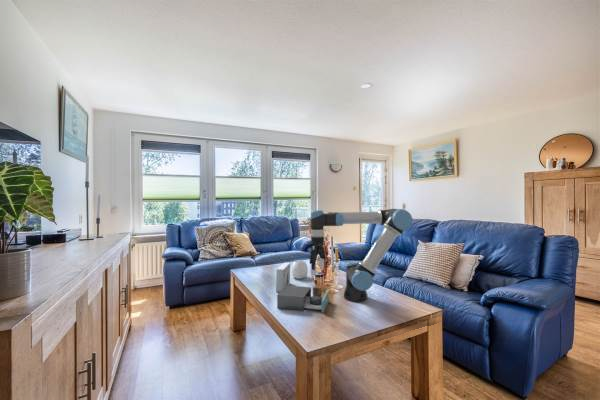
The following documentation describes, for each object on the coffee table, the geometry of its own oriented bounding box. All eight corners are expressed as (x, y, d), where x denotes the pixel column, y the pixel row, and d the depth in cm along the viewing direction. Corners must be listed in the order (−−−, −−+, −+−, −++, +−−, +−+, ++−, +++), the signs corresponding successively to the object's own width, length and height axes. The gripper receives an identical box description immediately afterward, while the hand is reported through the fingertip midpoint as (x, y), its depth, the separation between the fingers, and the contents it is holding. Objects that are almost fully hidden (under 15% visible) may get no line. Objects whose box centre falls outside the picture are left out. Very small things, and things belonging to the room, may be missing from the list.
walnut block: (321, 296, 174) (321, 285, 174) (319, 299, 170) (319, 288, 170) (314, 296, 175) (314, 285, 175) (313, 298, 171) (313, 287, 171)
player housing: (310, 299, 168) (310, 287, 168) (303, 311, 151) (303, 297, 151) (287, 297, 173) (286, 285, 173) (277, 308, 155) (277, 294, 155)
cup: (291, 275, 223) (291, 259, 223) (306, 275, 224) (306, 259, 224) (292, 280, 210) (292, 263, 210) (309, 279, 211) (308, 262, 211)
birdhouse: (328, 301, 165) (328, 290, 165) (323, 312, 148) (323, 300, 148) (304, 299, 169) (304, 288, 169) (297, 310, 152) (296, 298, 152)
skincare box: (283, 292, 183) (283, 269, 183) (275, 292, 184) (275, 269, 184) (290, 283, 203) (290, 262, 203) (283, 282, 204) (283, 262, 204)
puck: (311, 299, 163) (311, 295, 163) (323, 301, 161) (323, 296, 161) (308, 304, 155) (308, 300, 155) (321, 305, 153) (321, 301, 153)
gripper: (318, 233, 171) (319, 266, 171) (303, 239, 148) (303, 276, 148) (329, 233, 168) (330, 267, 168) (315, 239, 145) (316, 278, 145)
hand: (318, 272), depth 158 cm, fingers open, 13 cm apart
